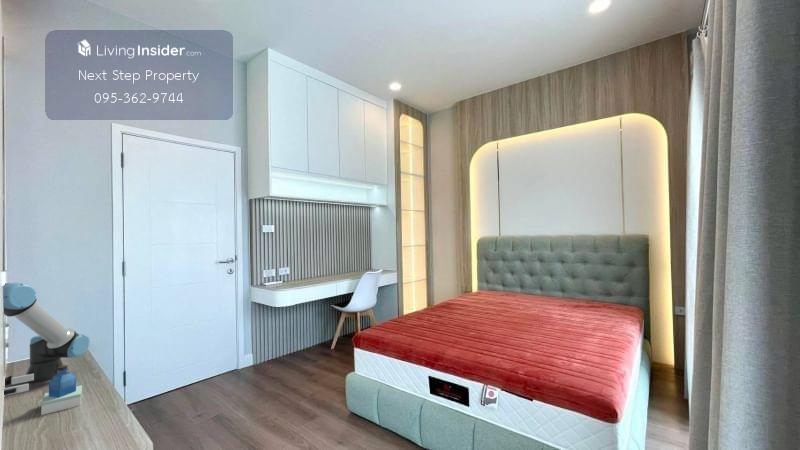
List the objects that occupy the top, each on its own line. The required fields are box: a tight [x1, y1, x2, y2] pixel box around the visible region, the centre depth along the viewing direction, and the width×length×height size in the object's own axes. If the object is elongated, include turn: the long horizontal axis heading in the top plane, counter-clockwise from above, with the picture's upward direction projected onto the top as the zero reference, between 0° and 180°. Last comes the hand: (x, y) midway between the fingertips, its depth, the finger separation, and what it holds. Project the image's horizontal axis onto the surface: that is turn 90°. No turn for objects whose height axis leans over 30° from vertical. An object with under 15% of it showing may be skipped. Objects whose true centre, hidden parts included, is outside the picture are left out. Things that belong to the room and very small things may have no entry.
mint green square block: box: [40, 384, 83, 416], centre depth 150 cm, size 12×12×5 cm
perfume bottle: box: [48, 364, 77, 398], centre depth 150 cm, size 6×6×12 cm
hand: (31, 381), depth 144 cm, fingers open, 13 cm apart
